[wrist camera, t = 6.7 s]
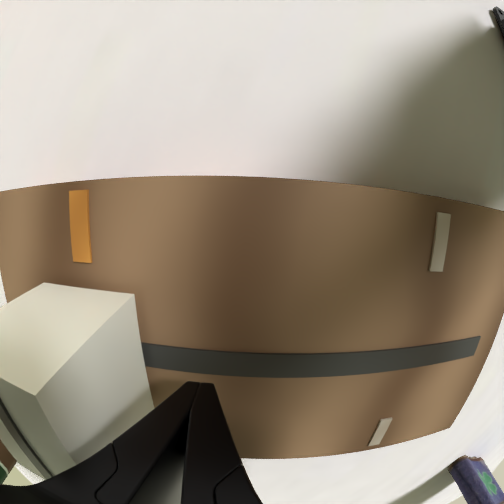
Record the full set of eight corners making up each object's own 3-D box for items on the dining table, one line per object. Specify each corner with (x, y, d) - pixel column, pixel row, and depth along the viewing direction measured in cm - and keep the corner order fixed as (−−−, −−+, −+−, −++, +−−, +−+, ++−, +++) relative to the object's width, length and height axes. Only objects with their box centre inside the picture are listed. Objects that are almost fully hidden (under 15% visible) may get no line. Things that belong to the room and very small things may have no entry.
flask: (484, 457, 16) (514, 509, 6) (466, 472, 17) (494, 525, 6) (462, 453, 15) (500, 521, 5) (440, 471, 16) (473, 539, 5)
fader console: (489, 209, 10) (524, 216, 7) (433, 403, 13) (450, 428, 10) (28, 188, 10) (-8, 193, 7) (67, 388, 13) (47, 413, 10)
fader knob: (134, 293, 8) (32, 398, 3) (154, 409, 9) (113, 513, 4) (44, 282, 8) (-55, 343, 3) (73, 388, 9) (17, 464, 4)
